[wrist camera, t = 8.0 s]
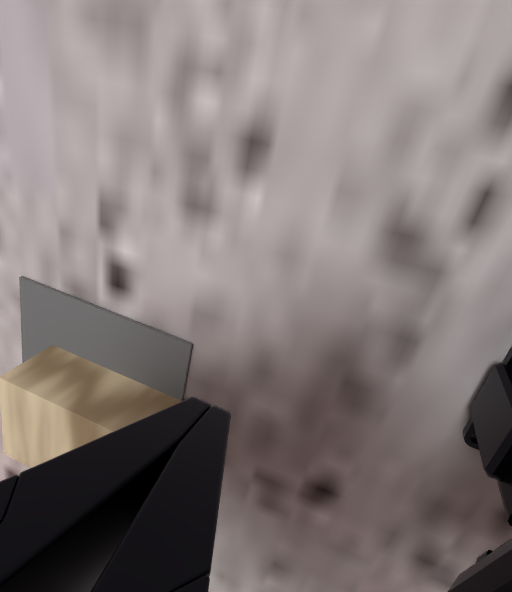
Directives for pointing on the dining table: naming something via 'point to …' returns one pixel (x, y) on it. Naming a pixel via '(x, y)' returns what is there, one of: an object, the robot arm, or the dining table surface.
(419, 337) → the dining table surface
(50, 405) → the oak block
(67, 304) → the placemat
